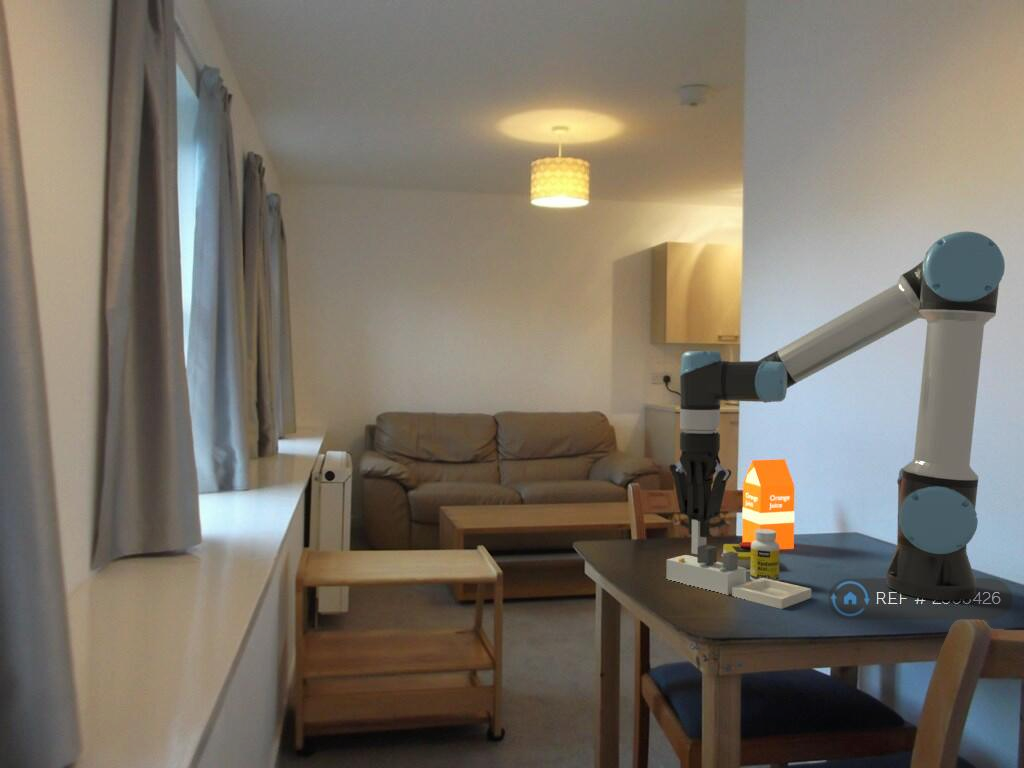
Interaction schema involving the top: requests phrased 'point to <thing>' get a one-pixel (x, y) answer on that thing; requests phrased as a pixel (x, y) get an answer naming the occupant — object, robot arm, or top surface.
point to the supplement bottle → (765, 555)
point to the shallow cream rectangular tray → (771, 593)
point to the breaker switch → (707, 554)
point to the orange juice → (769, 501)
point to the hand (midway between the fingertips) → (698, 552)
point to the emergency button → (740, 553)
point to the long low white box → (707, 573)
